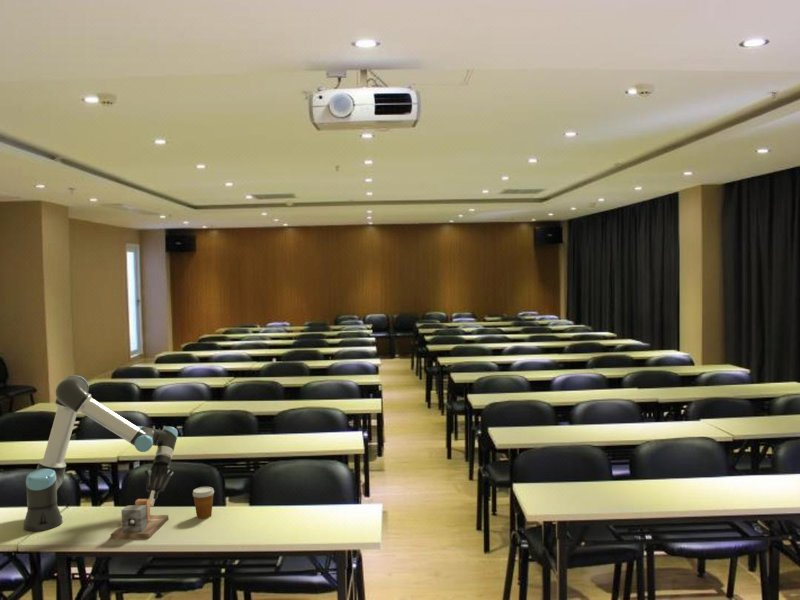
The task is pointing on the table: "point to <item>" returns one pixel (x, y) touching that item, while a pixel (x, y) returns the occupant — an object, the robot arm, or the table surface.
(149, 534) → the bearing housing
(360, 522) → the table surface
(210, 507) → the disposable coffee cup
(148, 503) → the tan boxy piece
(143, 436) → the robot arm
